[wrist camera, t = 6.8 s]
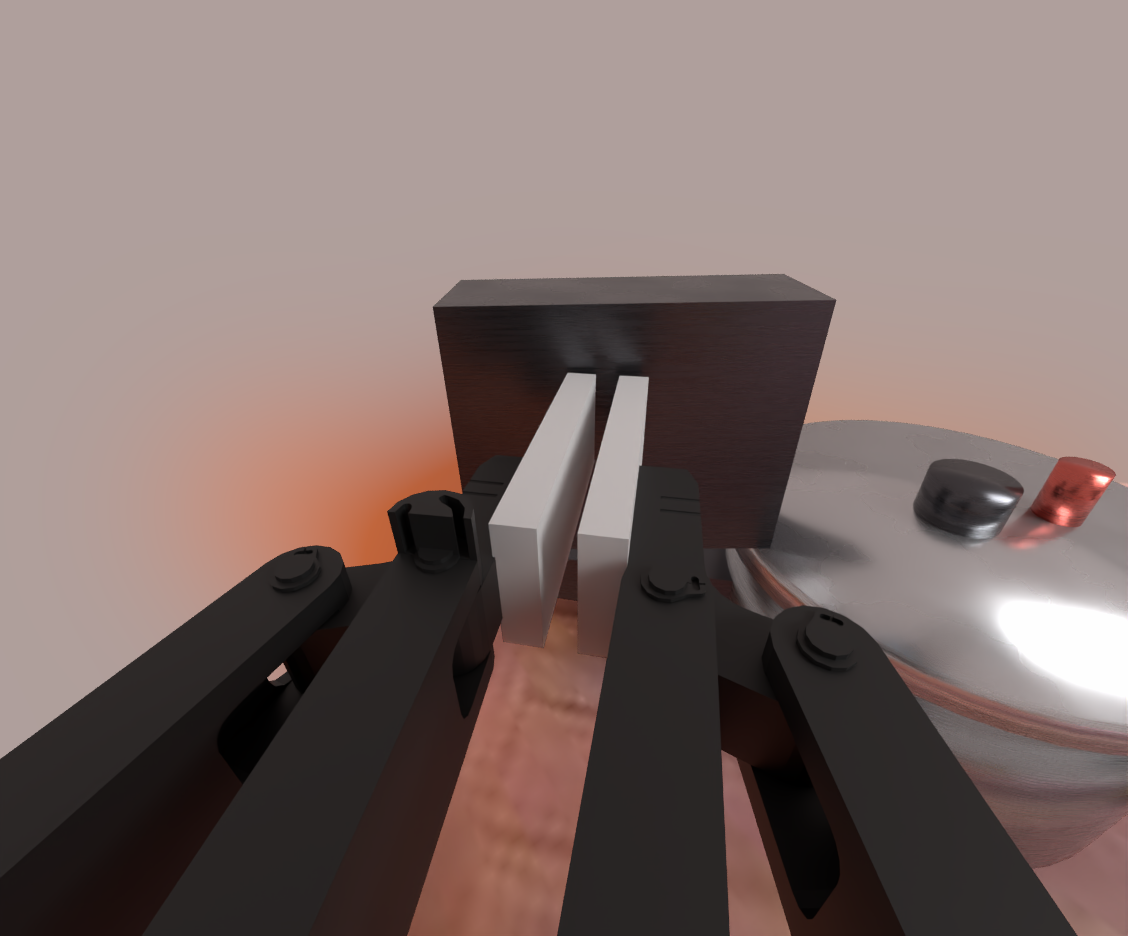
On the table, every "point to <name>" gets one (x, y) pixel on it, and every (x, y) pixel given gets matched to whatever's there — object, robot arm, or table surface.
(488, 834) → the table surface
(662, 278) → the lid
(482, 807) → the table surface
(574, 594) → the pot
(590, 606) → the robot arm
